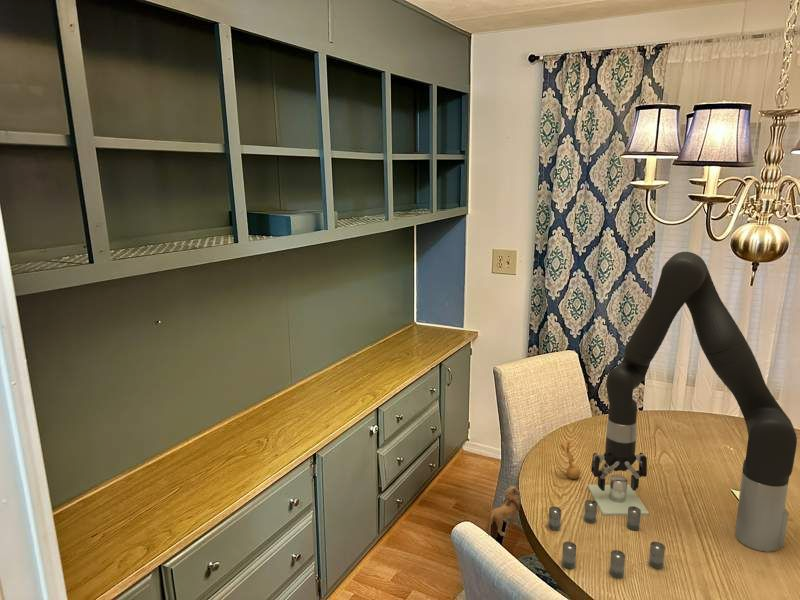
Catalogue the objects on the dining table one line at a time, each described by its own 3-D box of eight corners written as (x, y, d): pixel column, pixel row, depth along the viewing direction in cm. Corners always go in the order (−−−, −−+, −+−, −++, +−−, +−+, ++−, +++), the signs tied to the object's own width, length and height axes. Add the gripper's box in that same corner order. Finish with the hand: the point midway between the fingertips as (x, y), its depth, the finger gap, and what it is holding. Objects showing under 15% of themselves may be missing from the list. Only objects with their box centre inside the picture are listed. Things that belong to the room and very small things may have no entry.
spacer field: (632, 516, 145) (633, 499, 144) (671, 578, 122) (673, 559, 121) (544, 516, 146) (545, 499, 145) (567, 578, 123) (568, 558, 122)
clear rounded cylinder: (622, 493, 154) (623, 474, 153) (628, 502, 150) (629, 483, 148) (606, 493, 154) (607, 474, 153) (612, 502, 150) (613, 483, 149)
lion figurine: (506, 510, 149) (507, 480, 147) (524, 517, 146) (525, 486, 144) (480, 539, 137) (480, 507, 135) (499, 547, 134) (500, 514, 132)
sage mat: (629, 486, 159) (629, 484, 158) (648, 515, 145) (649, 513, 145) (587, 486, 159) (587, 484, 159) (603, 515, 145) (603, 513, 145)
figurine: (581, 485, 159) (583, 448, 157) (560, 483, 161) (561, 446, 158) (578, 471, 167) (580, 435, 165) (558, 469, 169) (559, 433, 166)
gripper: (642, 428, 151) (638, 481, 155) (590, 429, 152) (587, 482, 155) (653, 441, 144) (649, 496, 147) (598, 442, 144) (595, 497, 148)
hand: (617, 489), depth 151 cm, fingers open, 8 cm apart
